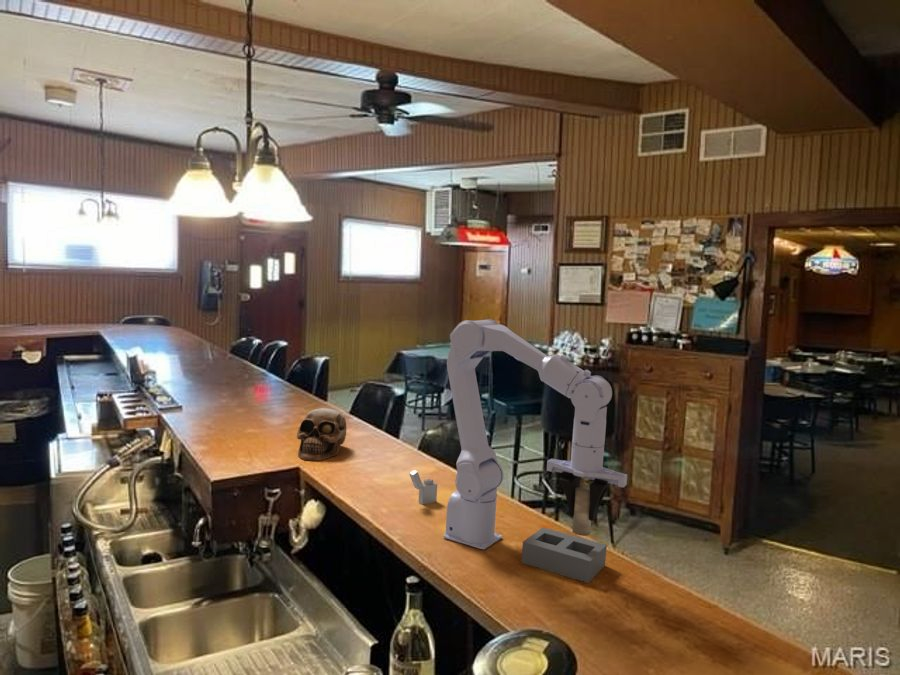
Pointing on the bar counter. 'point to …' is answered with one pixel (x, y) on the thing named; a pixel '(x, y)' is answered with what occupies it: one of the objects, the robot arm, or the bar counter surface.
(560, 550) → the socket block
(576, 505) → the dowel
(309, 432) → the brown skull
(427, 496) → the lighter
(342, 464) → the bar counter surface
